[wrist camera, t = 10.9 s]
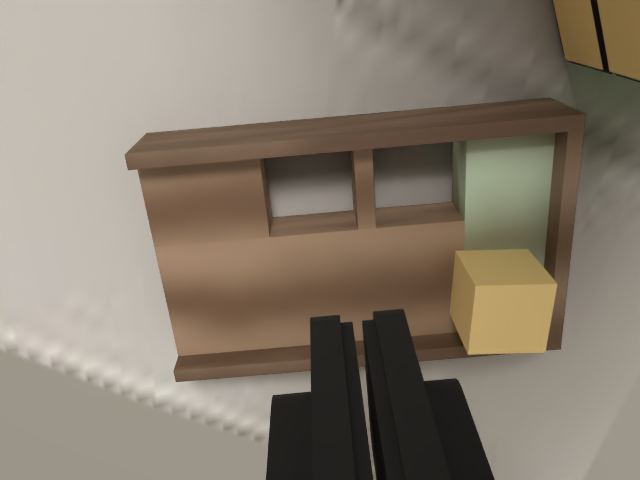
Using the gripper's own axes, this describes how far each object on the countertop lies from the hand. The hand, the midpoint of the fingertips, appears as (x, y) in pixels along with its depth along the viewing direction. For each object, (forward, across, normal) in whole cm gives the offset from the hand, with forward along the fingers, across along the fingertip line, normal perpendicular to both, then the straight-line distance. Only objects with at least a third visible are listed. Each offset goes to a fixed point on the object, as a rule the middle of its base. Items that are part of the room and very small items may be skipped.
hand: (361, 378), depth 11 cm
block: (+21, -9, +12) cm, 25 cm away
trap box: (+24, -1, +9) cm, 25 cm away
